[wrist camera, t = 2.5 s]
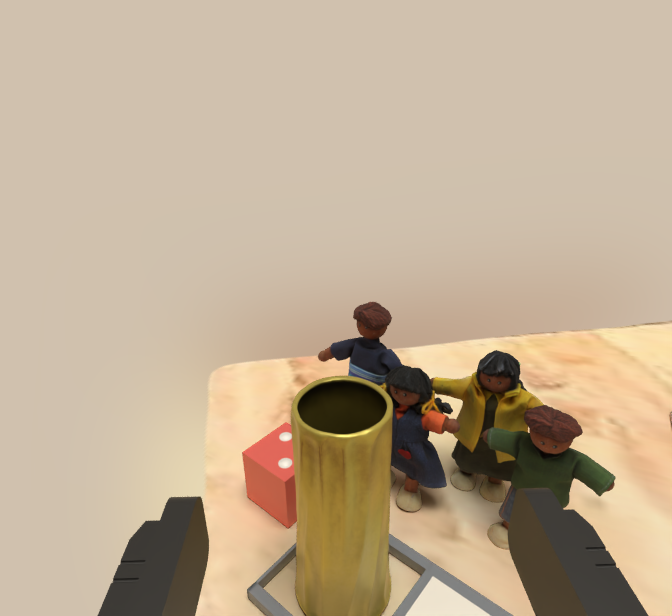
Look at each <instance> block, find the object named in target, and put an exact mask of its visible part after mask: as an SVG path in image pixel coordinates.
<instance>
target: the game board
mask: <svg viewBox="0 0 672 616" xmlns="http://www.w3.org/2000/svg"><path fill="white" fill-rule="evenodd" d="M296 545H297V542H296V543H295V544H294V545H293V546H292V547H291V548H290V549H289V550H288V551H287V552H286V553H285V554H284V555H283V556H282V557H281V558H280V559H279V560H278V561H277V562H276V563H275V564H273V565H272V566H271V567H270V568H269V569H268V570H267V571H266V572H265V573H264V574H263V575H262V576H261V577H260V578H259V579H258V580H257V581H256V582H255V583H254V584H253V585H252V586H250V587H249V588H248V589H247V594H248V598H249V599H250V600H251V601H252V602H253V603H254V604H255V605H256V606H257V607H258V608H259V609H260V610H261V611H262V612H263V613H264V614H265V615H266V616H293V615H292V614H290V613H289V612H288V611H287V610H286V609H285V608H284V607H283V606H282V605H281V604H280V603H278V602H277V601H276V600H275V599H274V598H273V597H272V596H271V595H270V594H269V593H268V592H266V591H265V590H264V589H263V587H264V586H265V585H266V584H267V583H268V582H269V581H270V580H271V579H272V578H273V577H274V576H275V575H276V574H277V573H278V572H279V571H280V570H281V569H282V568H283V567H284V566H285V565H287V564H288V563H289V562H290V561H291V560H292V559H293V558H294V557H295V556H296ZM389 553H390V554H392V555H393V556H395V557H396V558H398V559H399V560H401V561H402V562H404V563H405V564H406V565H408V566H409V567H411V568H412V569H414V570H415V571H417V572H418V573H419V574H421V575H422V576H421V577H420V578H419V580H418V581H417V583H416V584H415V585H414V587H413V588H412V589H411V591H410V592H409V594H408V595H407V596H406V598H405V599H404V601H403V602H402V603H401V605H400V606H399V607H398V609H397V610H396V612H395V613H394V614H393V616H513V615H511V614H510V613H508V612H507V611H505V610H504V609H502V608H501V607H499V606H498V605H496V604H495V603H493V602H492V601H490V600H489V599H487V598H486V597H484V596H483V595H481V594H480V593H478V592H477V591H475V590H474V589H472V588H471V587H469V586H468V585H466V584H465V583H463V582H462V581H460V580H459V579H457V578H456V577H454V576H453V575H451V574H450V573H448V572H447V571H445V570H443V569H442V568H440V567H439V566H437V565H436V564H434V563H433V562H431V561H430V560H428V559H427V558H425V557H424V556H422V555H421V554H419V553H418V552H416V551H415V550H413V549H412V548H410V547H409V546H407V545H406V544H404V543H403V542H401V541H400V540H398V539H397V538H395V537H394V536H392V535H391V534H389Z"/></svg>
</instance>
